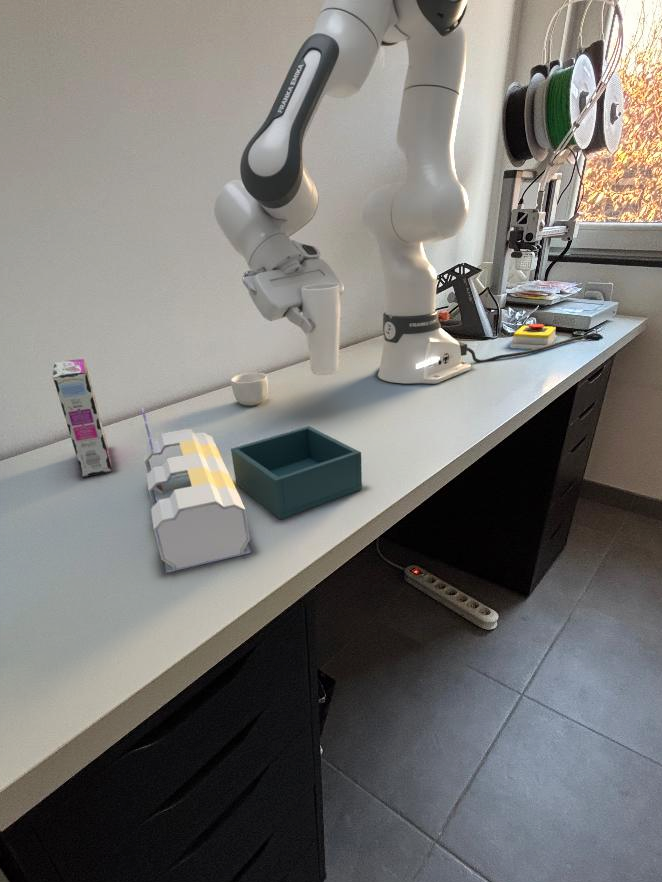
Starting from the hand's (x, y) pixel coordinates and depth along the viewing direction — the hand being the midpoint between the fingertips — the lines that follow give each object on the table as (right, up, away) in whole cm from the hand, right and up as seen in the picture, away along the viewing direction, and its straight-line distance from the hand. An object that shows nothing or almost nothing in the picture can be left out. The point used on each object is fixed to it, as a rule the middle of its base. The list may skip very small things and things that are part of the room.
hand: (325, 325), depth 95 cm
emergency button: (+57, +13, +50) cm, 77 cm away
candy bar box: (-39, -25, -4) cm, 47 cm away
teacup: (-15, -9, +20) cm, 27 cm away
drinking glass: (0, -7, +5) cm, 9 cm away
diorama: (-18, -34, -22) cm, 44 cm away
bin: (-4, -30, -16) cm, 34 cm away
